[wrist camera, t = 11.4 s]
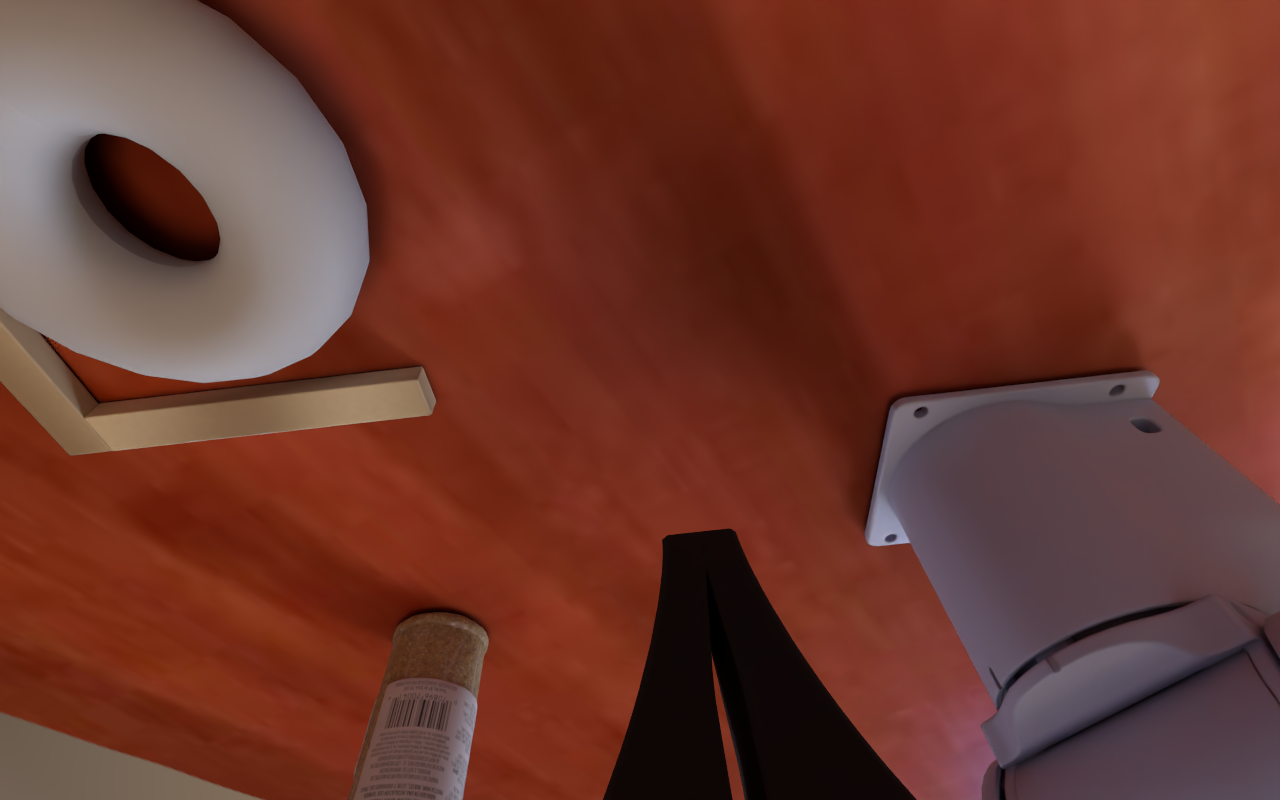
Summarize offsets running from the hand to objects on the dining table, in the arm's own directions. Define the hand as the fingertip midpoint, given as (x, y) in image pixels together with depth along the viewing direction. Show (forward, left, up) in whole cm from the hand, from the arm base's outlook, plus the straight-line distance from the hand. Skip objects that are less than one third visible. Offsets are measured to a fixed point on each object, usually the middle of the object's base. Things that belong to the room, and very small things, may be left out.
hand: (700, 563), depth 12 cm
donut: (+12, -6, -10) cm, 17 cm away
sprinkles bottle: (+12, +16, -10) cm, 22 cm away
